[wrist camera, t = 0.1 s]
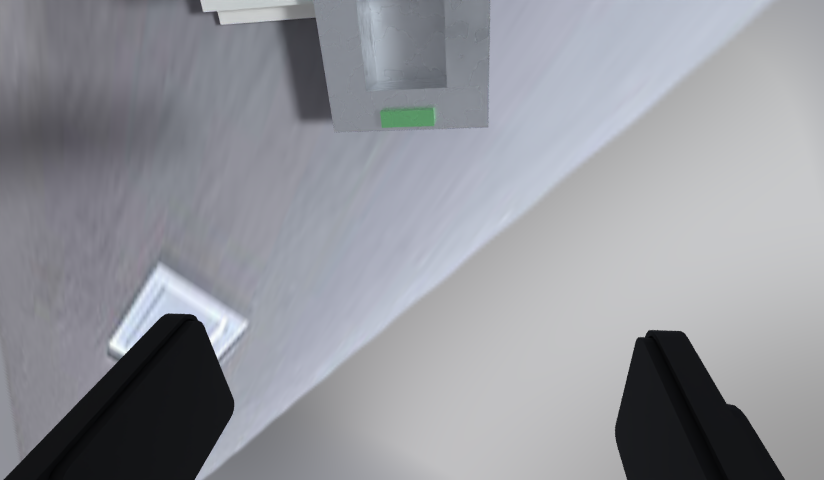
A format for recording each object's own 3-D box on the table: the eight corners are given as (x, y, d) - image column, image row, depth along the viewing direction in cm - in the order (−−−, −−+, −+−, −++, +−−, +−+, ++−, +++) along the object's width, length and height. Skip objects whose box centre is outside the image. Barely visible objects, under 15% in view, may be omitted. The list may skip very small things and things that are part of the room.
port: (328, -45, 33) (301, -50, 28) (489, -60, 31) (491, -69, 26) (350, 116, 39) (332, 134, 34) (487, 110, 37) (488, 129, 32)
